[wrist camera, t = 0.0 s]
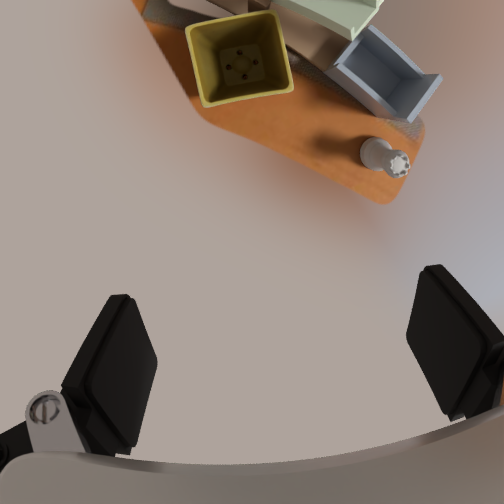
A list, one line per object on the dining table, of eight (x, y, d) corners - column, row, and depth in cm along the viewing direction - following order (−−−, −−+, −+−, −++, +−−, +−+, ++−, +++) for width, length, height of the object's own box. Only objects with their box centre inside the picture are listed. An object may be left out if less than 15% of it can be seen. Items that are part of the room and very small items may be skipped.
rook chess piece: (392, 141, 36) (422, 152, 29) (384, 173, 38) (411, 189, 31) (363, 132, 36) (388, 140, 29) (354, 164, 38) (377, 179, 31)
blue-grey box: (353, 34, 30) (381, 18, 22) (405, 80, 32) (443, 78, 24) (322, 72, 33) (344, 64, 24) (377, 117, 35) (410, 123, 27)
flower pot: (212, 106, 35) (201, 109, 27) (197, 41, 31) (183, 26, 23) (284, 93, 34) (295, 91, 26) (270, 27, 30) (277, 8, 22)
